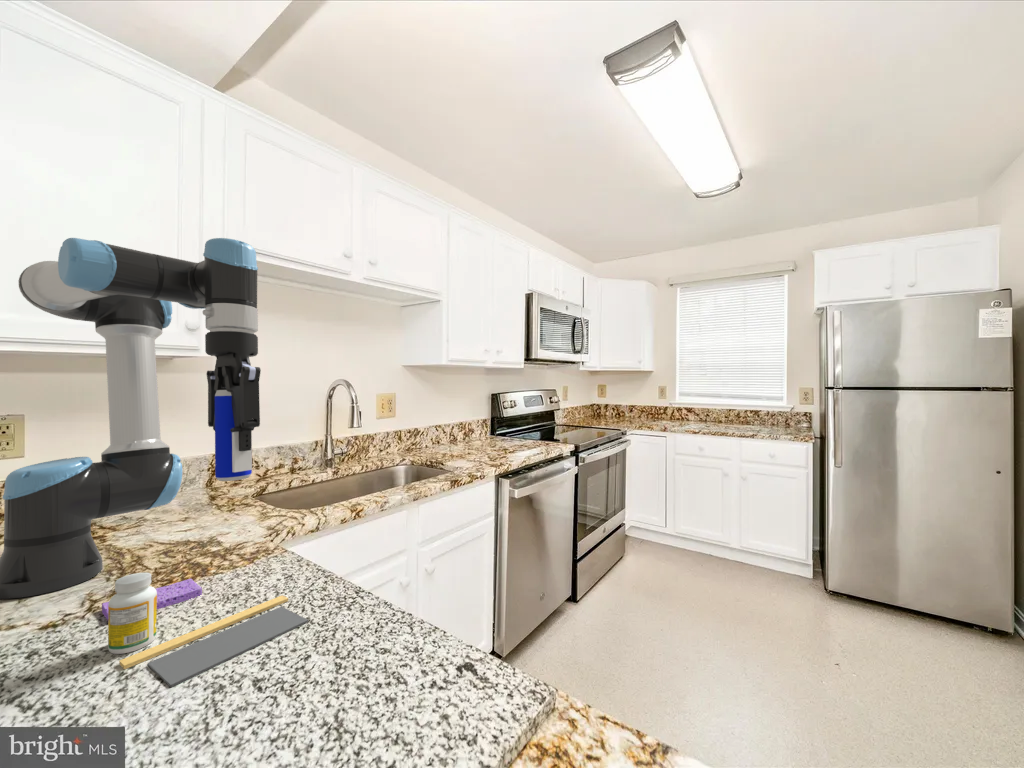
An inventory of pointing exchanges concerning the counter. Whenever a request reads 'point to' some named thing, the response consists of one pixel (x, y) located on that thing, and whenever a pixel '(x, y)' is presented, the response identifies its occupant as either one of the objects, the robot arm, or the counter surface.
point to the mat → (224, 646)
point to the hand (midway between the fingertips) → (233, 469)
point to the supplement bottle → (132, 614)
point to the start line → (199, 633)
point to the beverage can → (225, 438)
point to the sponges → (170, 594)
